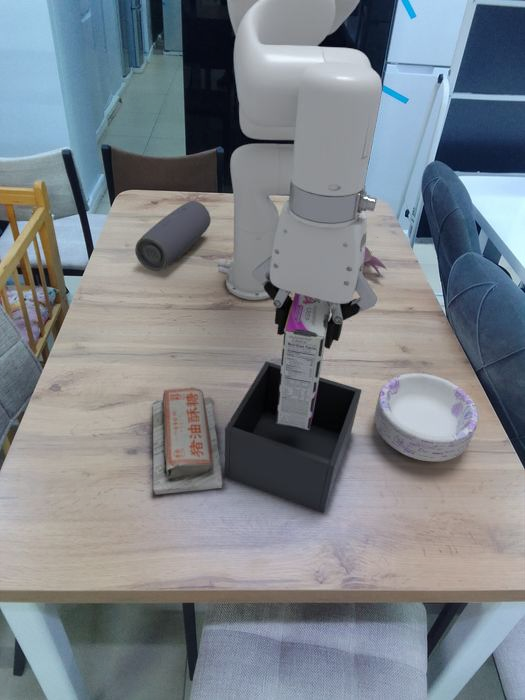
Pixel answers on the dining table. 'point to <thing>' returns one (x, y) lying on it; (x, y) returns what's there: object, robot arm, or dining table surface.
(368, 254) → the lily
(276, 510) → the dining table surface
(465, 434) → the paper bowls
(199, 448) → the packaged product
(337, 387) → the open storage box
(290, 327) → the candy bar box
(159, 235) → the bluetooth speaker
